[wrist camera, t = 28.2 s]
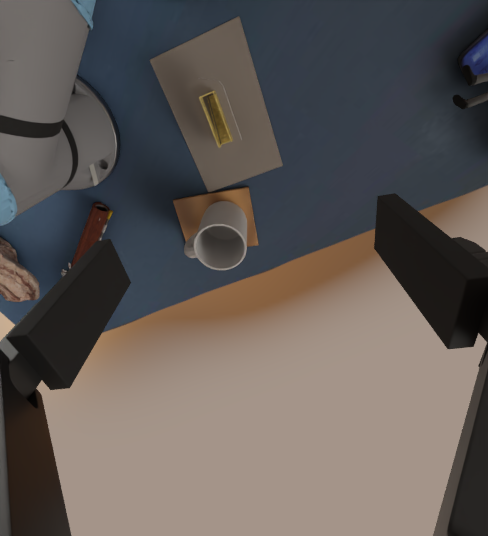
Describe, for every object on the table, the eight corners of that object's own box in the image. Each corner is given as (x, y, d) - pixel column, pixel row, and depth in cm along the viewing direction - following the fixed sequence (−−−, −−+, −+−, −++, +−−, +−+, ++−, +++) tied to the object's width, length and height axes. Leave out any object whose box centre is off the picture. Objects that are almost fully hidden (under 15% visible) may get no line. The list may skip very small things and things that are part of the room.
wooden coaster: (190, 253, 52) (190, 255, 51) (173, 199, 46) (172, 200, 46) (258, 243, 50) (258, 245, 50) (248, 186, 45) (248, 187, 45)
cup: (254, 232, 49) (254, 260, 41) (200, 252, 51) (192, 282, 43) (235, 192, 45) (233, 215, 38) (179, 216, 47) (166, 242, 40)
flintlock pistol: (99, 332, 58) (46, 312, 55) (106, 319, 61) (56, 299, 58) (146, 236, 46) (82, 205, 43) (152, 226, 49) (92, 196, 46)
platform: (239, 16, 34) (237, 4, 29) (282, 165, 43) (287, 178, 38) (149, 59, 37) (131, 56, 31) (208, 192, 46) (202, 208, 40)
